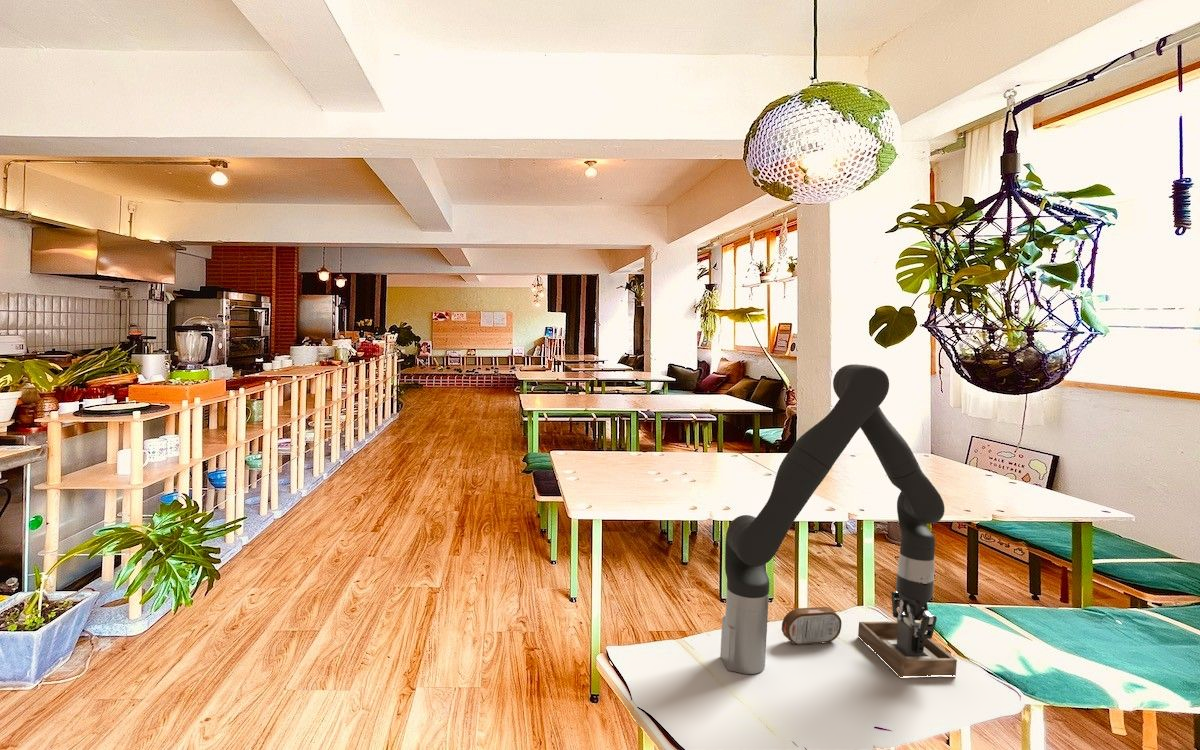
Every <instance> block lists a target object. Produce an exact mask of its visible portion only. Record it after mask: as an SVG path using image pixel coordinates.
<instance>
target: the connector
mask: <svg viewBox="0 0 1200 750" xmlns="http://www.w3.org/2000/svg"><path fill="white" fill-rule="evenodd" d="M915 622H920V620H915ZM919 630H920V626H918V632H919ZM913 636H914V634H913V627H912V626H911V625H910V620H909V618H904V620H899V621H898V635H897V648H896V649H898V650H899V651H900V652H901V653H902V654H903V655H904V656H905V657H916V656H923V652H922V653H914V652H913V651H912V643H913ZM923 648H924V647H923ZM923 651H924V649H923Z"/></svg>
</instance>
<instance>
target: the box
mask: <svg viewBox="0 0 1200 750" xmlns="http://www.w3.org/2000/svg"><path fill="white" fill-rule="evenodd" d="M857 629H858V631H857V637H858V636H859V637H860V638H861V639H862V640H863V641H864V642H865V643H866V644H867V645H869V646H870V647H871V648H872V649H873V650H874V652H876V654H878V655H879V656H880V657H881V658H882V659H883V660H884V661H885V662H886V663H887V664H888V665H889V666H890V667H891V668H892V669H893V670H894V671H895V672H896V673H897V674H898V675H899V676H900V677H903V676H927V675H928V676H931V675H952V676H953V675H955V676H956V674H957V666H958V665H957V664H958V663H957V661H958V660H957V659H956V658H955V657H954V656H953V655H952V654H950V653H949V652H947V651H946V650H945V649H944V648H943V647H941V646H940V645H939V644H937V643H936V642H935V641H933V640H932V638H931V639H924V651H923V656H916V657H905V656H904V655H903V654H902V653H901V652H900V651H899V650H898V649H896V648H897V635H898V623H897V621H859V622H858V628H857ZM956 677H957V676H956Z"/></svg>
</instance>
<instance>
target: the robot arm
mask: <svg viewBox="0 0 1200 750" xmlns="http://www.w3.org/2000/svg"><path fill="white" fill-rule="evenodd" d="M832 381H833V382H832V386H833V390H834V391H833V392H834V393H835V395H836V397H838V400H837V402H836V404H835V405H834V406H833V408H832V409H831V410H830V411H829V413H828V414H827V415H826V416H825V417H824V418H823V419H821V420H819V422H817V423H816V424H815V425H813V426H812V427H811V428H809V429H808V430H807V431H805V433H804V434H802V435H800V437H799V438H798V439H797V440H796V441H795V443H794V444H793V446H792V447H791V448H790V449H789V451H788V452H787V454H786V455H785V456H784V457H783V460H782V461H781V463H780V465H779V467H778V469H777V473H776V475H775V479H774V483H773V487H772V490H771V493H770V496H769V497H768V500H767V502H766V503H765V505H764V506H763V508H762V509H761V510H760V512H759V513H758V515H757V516H753V515H748V514H744V515H739V516H737V517H735V518H734V519H733V520H732V521H731V522H730V523H729V526H728V527H727V530H726V535H725V547H724V550H725V551H724V571H725V576H726V596H725V598H726V599H725V613H724V614H725V615H724V616H722V617H721V619H722V620H721V633H720V634H721V635H720V636H721V638H720V652H719V653H720V659H721V660H722V662H723V664H724V666H725V667H726V669H727V671H728V672H729V671H730V672H731V671H733V672H737V673H740V674H744V675H755V674H759V673H762V672H763V671H764V670H765V667H766V659H767V658H766V650H767V634H768V617H769V599H770V579H769V577H768V573H767V569H766V564H767V563H768V562H770V561H771V560H772V559H773V558H774V557H775V555H776V554H777V552H778V550H779V548H780V547H781V545H782V544H783V542H784V540H785V538H786V536H787V534H788V532H789V530H790V529H791V527H792V525H793V524H794V522H795V521H796V518H797V517H798V515H800V512H801V511H802V510H803V508H804V507H805V506H806V504H807V502H808V501H809V499H811V497H812V496H813V494H814V492H815V491H816V490H817V489H818V487H819V486H820V485H821V484H822V482H823V481H824V479H825V478H826V476H827V475H828V474H829V472H830V471H831V470H832V468H833V466H834V464H835V462H837V461H838V458H839V457H840V456H841V454H842V453H843V452H844V451H845V449H846V447H847V446H848V445H849V443H850V442H851V440H852V439H853V438H854V436H855V434H856V433H857V432H858V431H859V429H861V430H862V433H863V434H864V436H865V437H866V439H867V441H868V442H869V444H870V445H871V447H872V449H873V450H874V453H875V454H876V456H877V458H878V460H879V462H880V464H881V466H882V469H883V470H884V472H885V473H886V476H887V478H888V479H889V481H890V483H891V484H892V485H893V486H895V487H896V488H897V489H898V490H900V492H899V493H898V497H897V500H896V513H897V518H898V525H899V530H900V546H899V547H900V548H899V555H898V559H897V568H896V569H897V571H896V583H895V584H896V585H895V590H896V591H895V590H894V591H893V590H892V591H891V605H892V607H891V608H892V610H891V611H892V617H893V618H895V619H896V622H897V623H898V621H899V620H904V618H909V620H910V625H911V626H912V627H913V634H914V636H913V643H912V651H913V652H914V653H922V652H923V649H924V648H923V647H924V639H931V640H932V638H933V635H934V632H935V628H936V624H937V620H938V619H937V618H938V617H937V615H935V614H931V613H930V612H929V607H928V602H929V601H931V599H932V598H933V594H934V583H935V580H934V579H935V568H936V567H935V553H936V537H935V535H934V534H933V532H932V531H931V530H930V528H929V527H928V525H932V524H937V523H938V522H940V521H941V520H942V519H943V517H944V514H945V503H944V500H943V498H942V496H941V495H940V493H939V491H938V490H937V488H936V487H935V486H934V485H933V483H932V482H931V481H930V479H929V478H928V477H927V476H926V474H924V472H923V471H922V469H921V467H920V464H919V462H918V461H917V459H916V457H915V455H914V453H913V450H912V449H911V447H910V446H909V444H908V442H907V441H906V440H905V439H904V437H903V436H902V435H901V433H900V432H899V431H898V430H897V428H896V427H895V426H893V424H892V423H891V422H890V421H889V419H888V418H887V417H886V415H885V414H884V412H883V411H882V409H881V407H880V406H881V404H883V402H884V400H885V399H886V397H887V395H888V393H889V389H890V379H889V376H888V375H887V373H886V372H885V371H884V370H883V369H882V368H879V367H877V366H873V365H867V364H857V363H855V364H846V365H844V366H842V367H840V368H839V369H838V370H836V372H835V374H834V377H833V380H832ZM915 620H918V621H919V622H915ZM918 626H920V630H919V632H918Z"/></svg>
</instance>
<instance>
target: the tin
mask: <svg viewBox="0 0 1200 750" xmlns="http://www.w3.org/2000/svg"><path fill="white" fill-rule="evenodd" d="M842 624H843V623H842V619H841V617H840V616H839V614H838V613H836V611H834V610H833V608H830V607H828V606H819V607H817V606H816V607H814V606H813V607H801V608H800V607H799V608H794V609H791V610H790V611H789V612H788V613H786V615H784V618H783V620H782V622H781V631H782V634H783V636H784V637H785V638H786V639H787V640H789V641H790V643H792V644H794V645H798V646H802V645H801V644H805V645H814V644H813V643H818V644H823V643H822V642H828V643H831V642H833V641H835V640H836V639H837V638H838V636H839V635H840V633H841V630H842Z"/></svg>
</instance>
